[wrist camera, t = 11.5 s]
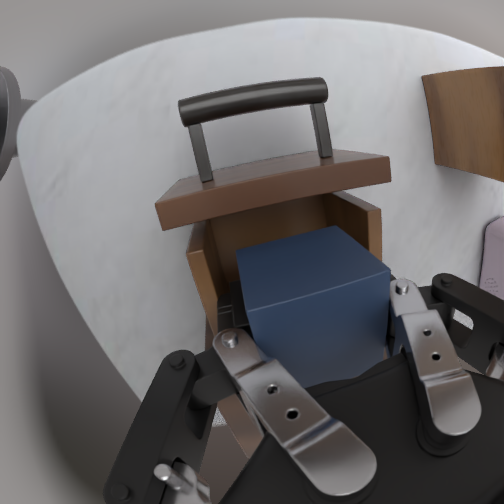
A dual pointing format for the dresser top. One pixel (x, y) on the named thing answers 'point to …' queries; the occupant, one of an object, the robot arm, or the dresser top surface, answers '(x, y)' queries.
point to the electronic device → (493, 259)
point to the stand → (468, 119)
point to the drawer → (266, 188)
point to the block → (316, 304)
